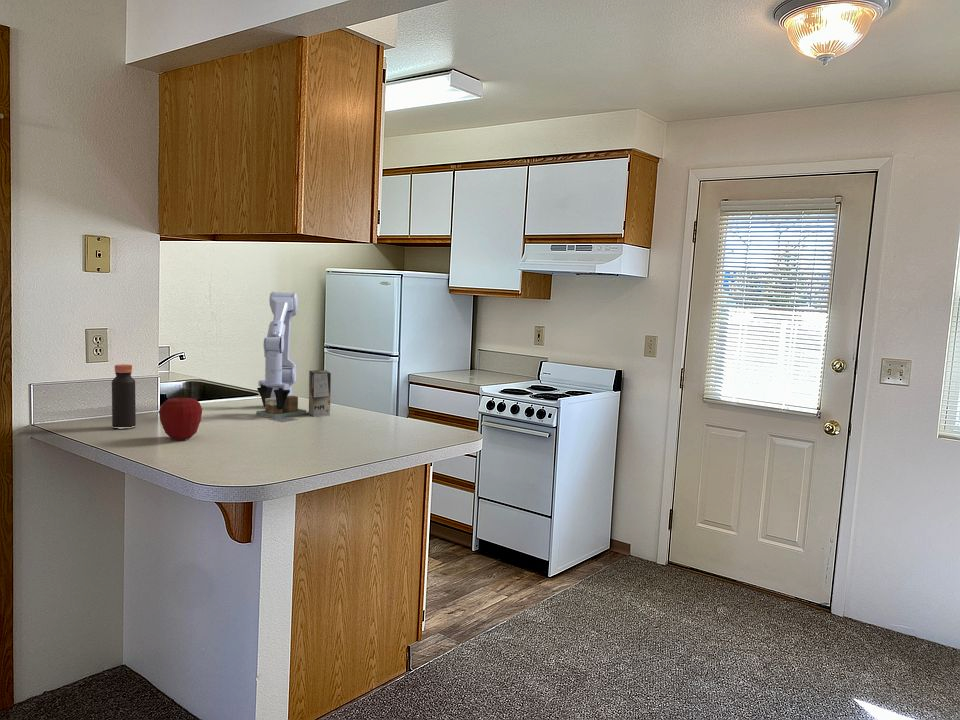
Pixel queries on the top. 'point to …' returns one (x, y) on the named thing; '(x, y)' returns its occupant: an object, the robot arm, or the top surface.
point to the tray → (262, 413)
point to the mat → (283, 419)
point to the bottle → (123, 397)
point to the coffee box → (319, 392)
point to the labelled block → (271, 406)
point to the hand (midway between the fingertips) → (273, 408)
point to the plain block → (290, 404)
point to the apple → (180, 417)
